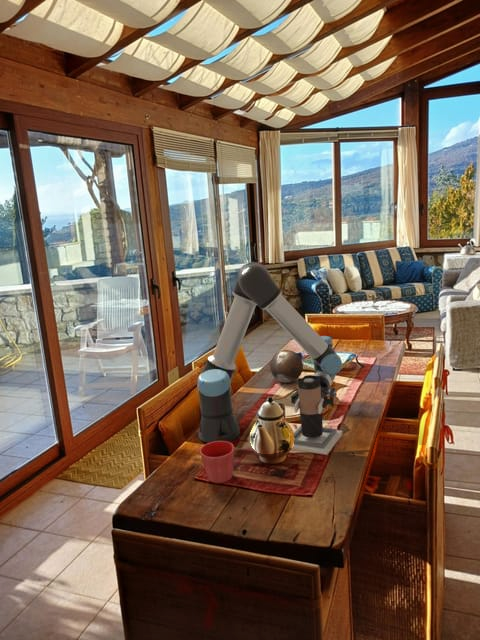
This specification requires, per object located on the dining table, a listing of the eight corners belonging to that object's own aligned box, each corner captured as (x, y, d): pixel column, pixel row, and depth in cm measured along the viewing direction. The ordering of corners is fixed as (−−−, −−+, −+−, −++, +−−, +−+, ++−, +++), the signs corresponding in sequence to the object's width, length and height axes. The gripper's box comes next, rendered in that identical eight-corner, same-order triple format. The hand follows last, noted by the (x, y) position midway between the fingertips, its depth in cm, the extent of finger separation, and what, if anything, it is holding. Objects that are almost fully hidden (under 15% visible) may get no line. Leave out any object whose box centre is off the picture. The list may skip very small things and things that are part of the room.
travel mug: (323, 438, 175) (319, 382, 170) (300, 438, 176) (296, 383, 172) (324, 428, 182) (320, 374, 177) (302, 428, 184) (298, 375, 179)
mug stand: (282, 447, 177) (281, 441, 176) (300, 428, 190) (299, 422, 190) (327, 454, 169) (326, 448, 169) (342, 434, 183) (342, 427, 182)
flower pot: (207, 489, 155) (203, 460, 153) (200, 472, 166) (196, 444, 164) (241, 481, 158) (238, 452, 156) (232, 465, 168) (229, 437, 166)
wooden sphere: (268, 387, 234) (266, 356, 231) (274, 376, 248) (272, 346, 245) (301, 387, 231) (299, 355, 227) (305, 376, 245) (303, 345, 241)
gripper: (347, 395, 191) (338, 421, 170) (294, 393, 197) (278, 418, 176) (346, 376, 189) (337, 400, 168) (292, 374, 196) (277, 397, 175)
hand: (307, 409), depth 172 cm, fingers closed on travel mug, 7 cm apart
